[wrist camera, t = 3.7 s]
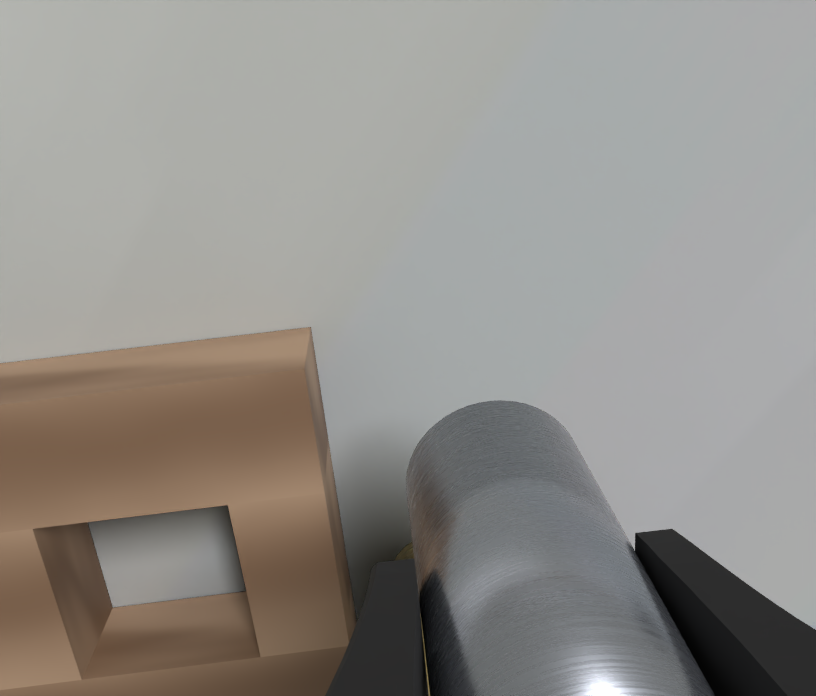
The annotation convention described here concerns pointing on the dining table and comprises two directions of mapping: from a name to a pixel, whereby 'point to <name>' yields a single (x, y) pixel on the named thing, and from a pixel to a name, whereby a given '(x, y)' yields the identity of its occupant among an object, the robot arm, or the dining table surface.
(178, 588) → the dining table surface
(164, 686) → the collar block
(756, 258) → the dining table surface
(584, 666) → the steel pin long
